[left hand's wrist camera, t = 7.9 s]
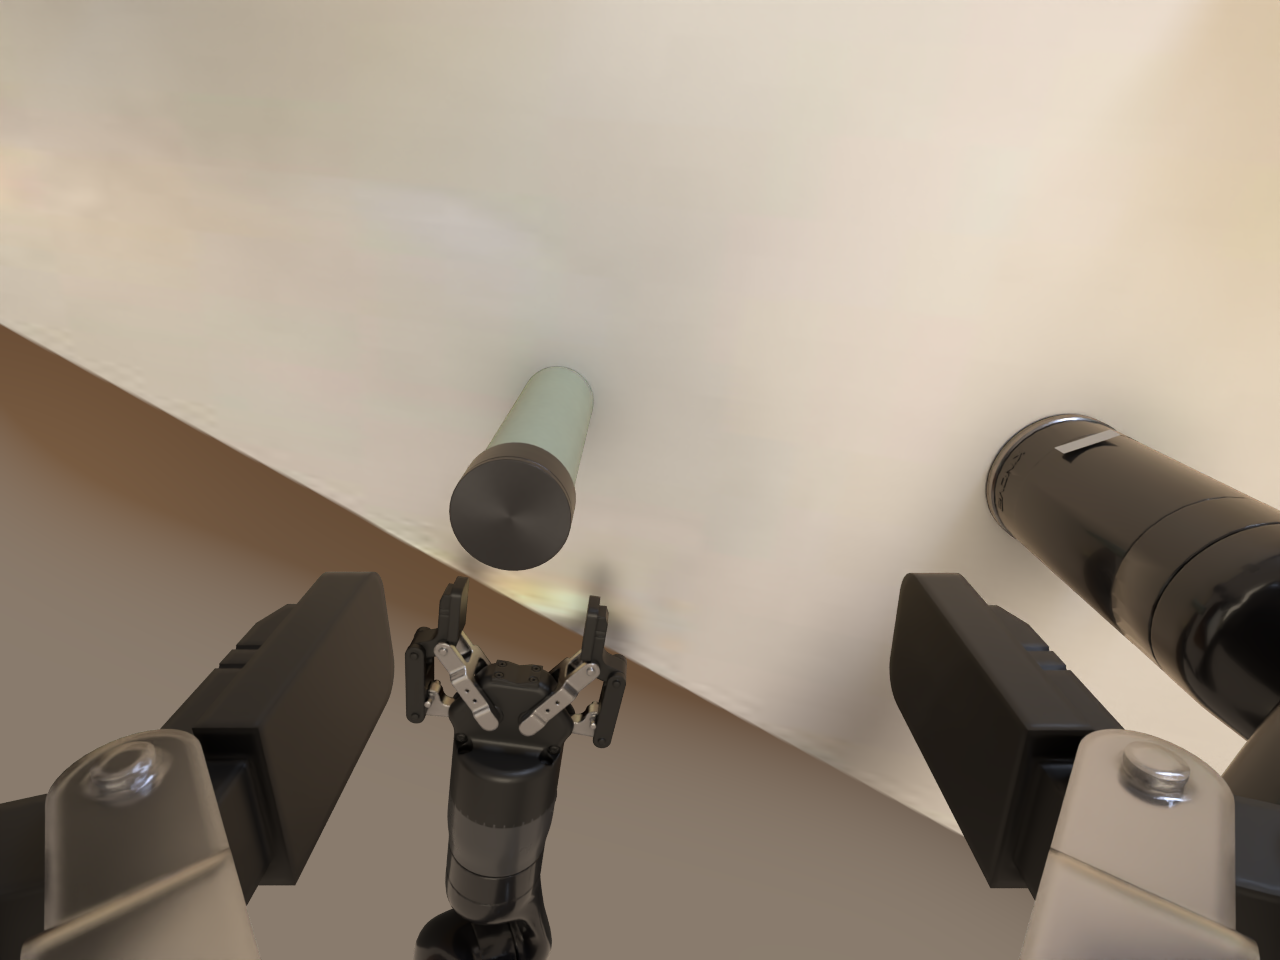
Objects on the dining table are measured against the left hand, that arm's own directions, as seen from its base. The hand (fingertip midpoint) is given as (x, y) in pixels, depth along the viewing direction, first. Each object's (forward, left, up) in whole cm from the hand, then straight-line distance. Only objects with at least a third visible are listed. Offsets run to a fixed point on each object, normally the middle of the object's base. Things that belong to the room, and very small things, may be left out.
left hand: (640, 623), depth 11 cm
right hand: (-5, -18, -31) cm, 36 cm away
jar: (-5, -7, -37) cm, 38 cm away
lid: (-5, -7, -18) cm, 20 cm away
